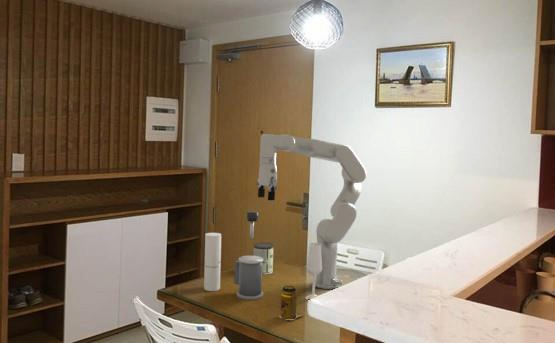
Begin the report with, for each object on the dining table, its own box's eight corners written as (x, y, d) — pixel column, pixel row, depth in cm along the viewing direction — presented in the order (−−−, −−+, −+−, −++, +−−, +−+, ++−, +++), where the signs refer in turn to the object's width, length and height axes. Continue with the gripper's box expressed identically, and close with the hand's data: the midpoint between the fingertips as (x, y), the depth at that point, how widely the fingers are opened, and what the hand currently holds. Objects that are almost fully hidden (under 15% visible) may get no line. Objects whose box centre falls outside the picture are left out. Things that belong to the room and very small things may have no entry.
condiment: (275, 317, 192) (277, 287, 191) (289, 311, 198) (290, 282, 197) (290, 322, 187) (291, 291, 186) (304, 316, 194) (305, 286, 193)
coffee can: (254, 268, 259) (255, 242, 258) (273, 269, 258) (274, 243, 257) (251, 273, 249) (252, 246, 248) (271, 275, 248) (272, 247, 247)
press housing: (268, 294, 218) (269, 258, 217) (253, 301, 208) (254, 263, 207) (243, 288, 225) (244, 253, 224) (227, 295, 216) (228, 258, 214)
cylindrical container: (222, 287, 226) (224, 233, 224) (214, 292, 219) (215, 236, 217) (209, 285, 229) (211, 232, 227) (201, 289, 222) (202, 234, 220)
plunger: (259, 237, 215) (260, 212, 214) (253, 239, 211) (253, 213, 210) (250, 236, 218) (251, 210, 217) (243, 238, 214) (244, 212, 213)
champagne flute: (302, 296, 217) (305, 242, 215) (316, 294, 220) (318, 242, 218) (309, 301, 211) (312, 246, 209) (323, 299, 214) (326, 245, 212)
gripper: (284, 162, 218) (282, 201, 219) (266, 160, 233) (264, 196, 234) (269, 162, 214) (267, 201, 215) (252, 159, 229) (250, 196, 231)
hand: (266, 198), depth 225 cm, fingers open, 9 cm apart
